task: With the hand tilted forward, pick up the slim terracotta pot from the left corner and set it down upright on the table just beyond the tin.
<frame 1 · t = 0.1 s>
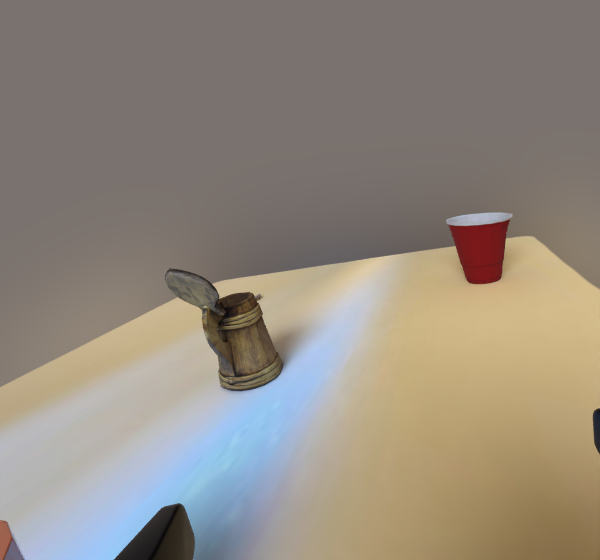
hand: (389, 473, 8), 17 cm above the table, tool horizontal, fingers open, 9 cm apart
plastic cup: (485, 280, 70), on the table
wooden mug: (243, 384, 50), on the table
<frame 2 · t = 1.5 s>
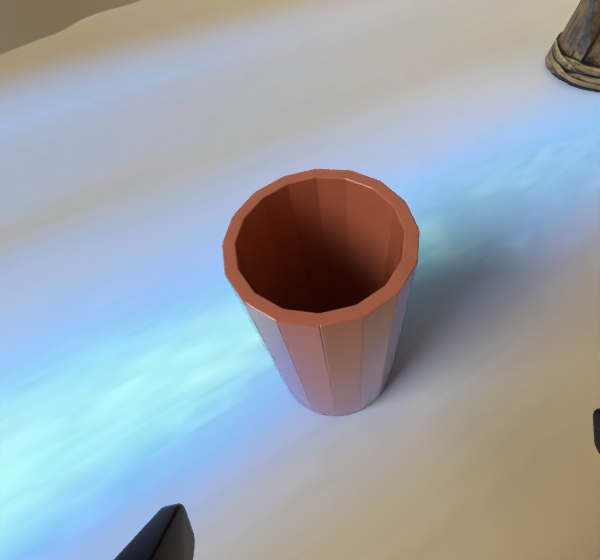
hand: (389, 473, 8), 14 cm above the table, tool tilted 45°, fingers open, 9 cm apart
pot: (334, 360, 24), on the table
wooden mug: (577, 76, 35), on the table
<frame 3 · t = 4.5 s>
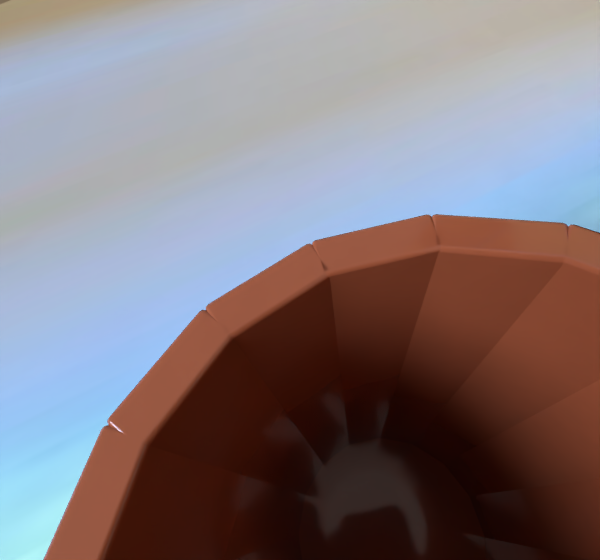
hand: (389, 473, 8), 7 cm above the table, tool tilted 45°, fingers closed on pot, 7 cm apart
pot: (387, 534, 13), on the table, touching gripper
when the fingers open (7 cm above the table, at t = 11.5 s): pot stays where it is, on the table.
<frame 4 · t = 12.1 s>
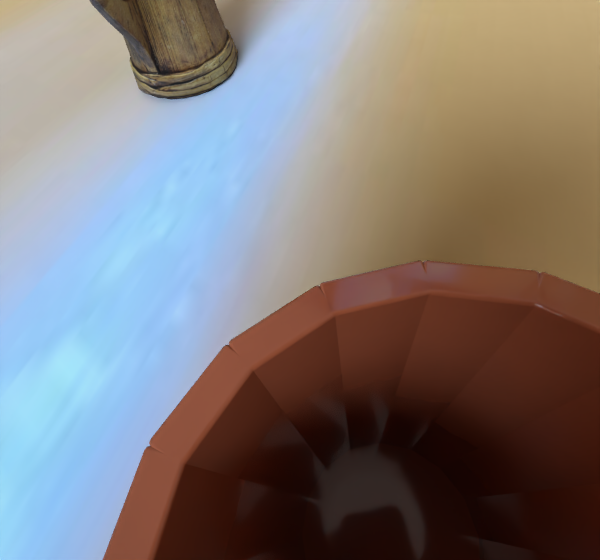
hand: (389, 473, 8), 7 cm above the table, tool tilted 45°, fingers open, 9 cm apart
pot: (386, 535, 13), on the table
wooden mug: (176, 86, 31), on the table
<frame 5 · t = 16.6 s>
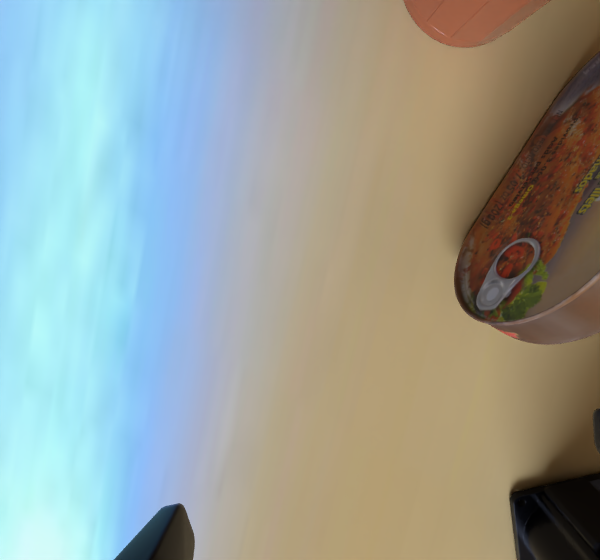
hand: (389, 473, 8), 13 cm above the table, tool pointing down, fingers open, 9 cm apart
tin: (529, 183, 20), on the table
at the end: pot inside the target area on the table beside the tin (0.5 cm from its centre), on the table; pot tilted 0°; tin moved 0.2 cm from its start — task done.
